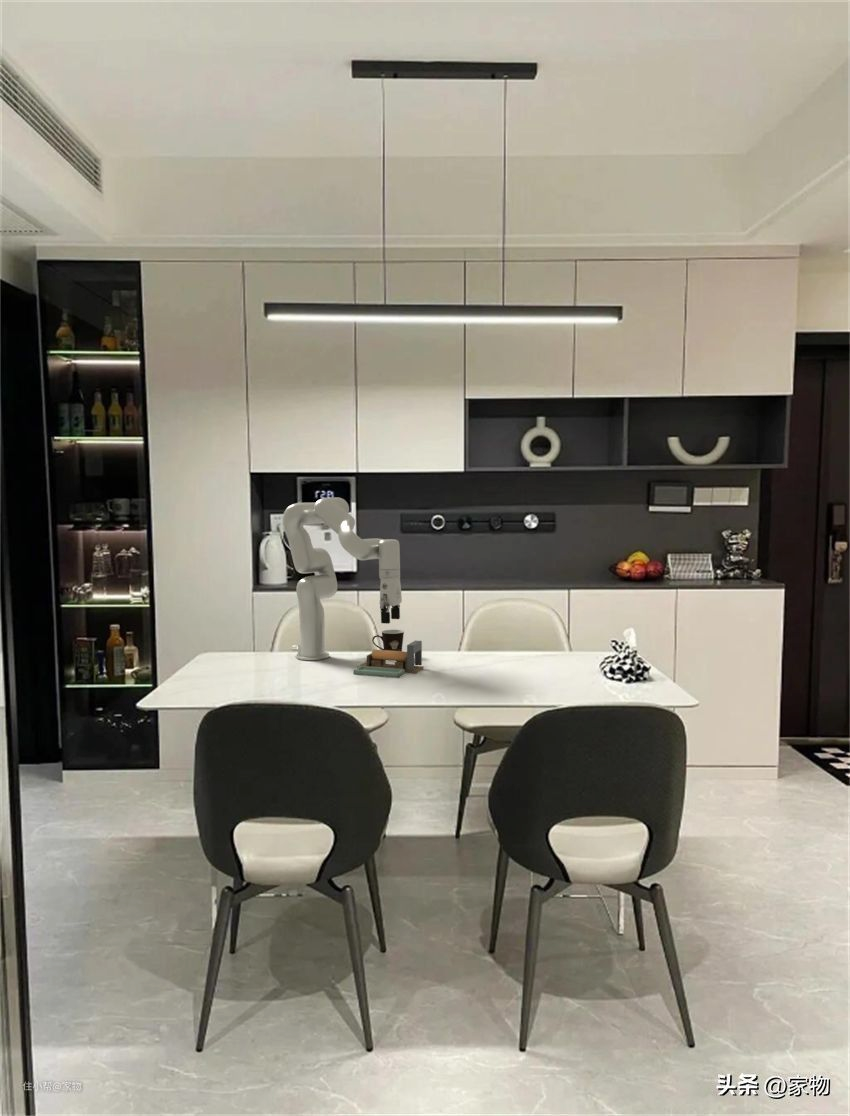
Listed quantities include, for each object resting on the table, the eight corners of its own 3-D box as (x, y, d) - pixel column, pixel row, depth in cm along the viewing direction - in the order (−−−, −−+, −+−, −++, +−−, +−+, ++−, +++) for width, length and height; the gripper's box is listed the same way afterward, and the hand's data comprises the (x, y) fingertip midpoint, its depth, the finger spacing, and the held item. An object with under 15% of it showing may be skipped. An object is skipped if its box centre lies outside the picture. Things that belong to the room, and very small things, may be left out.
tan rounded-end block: (371, 660, 284) (371, 650, 283) (375, 658, 287) (375, 648, 287) (405, 662, 279) (405, 652, 279) (408, 660, 283) (408, 650, 282)
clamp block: (357, 669, 284) (356, 655, 283) (365, 664, 291) (364, 651, 290) (416, 673, 276) (416, 659, 276) (423, 669, 283) (423, 655, 283)
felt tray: (353, 674, 276) (353, 669, 276) (360, 670, 282) (360, 665, 282) (398, 677, 270) (398, 673, 270) (405, 673, 277) (405, 669, 276)
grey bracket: (407, 669, 277) (407, 645, 276) (415, 664, 285) (415, 640, 284) (413, 670, 276) (413, 645, 275) (421, 665, 284) (421, 640, 283)
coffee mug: (406, 655, 307) (406, 630, 306) (400, 659, 299) (400, 634, 298) (378, 653, 310) (378, 628, 309) (371, 658, 302) (371, 632, 301)
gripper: (390, 576, 271) (391, 625, 272) (407, 571, 287) (408, 617, 289) (370, 576, 273) (371, 624, 275) (388, 571, 290) (389, 617, 291)
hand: (390, 621), depth 282 cm, fingers open, 9 cm apart
